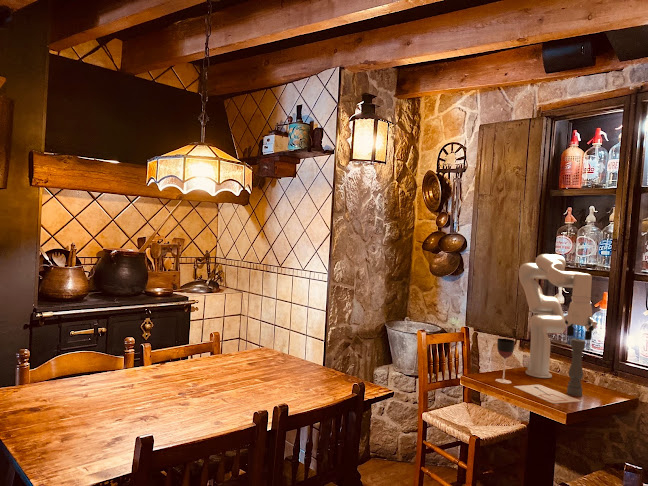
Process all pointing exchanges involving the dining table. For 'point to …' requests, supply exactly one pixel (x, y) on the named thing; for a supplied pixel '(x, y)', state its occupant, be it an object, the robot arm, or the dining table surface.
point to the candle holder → (576, 368)
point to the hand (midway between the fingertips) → (579, 337)
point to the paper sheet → (547, 394)
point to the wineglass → (505, 353)
